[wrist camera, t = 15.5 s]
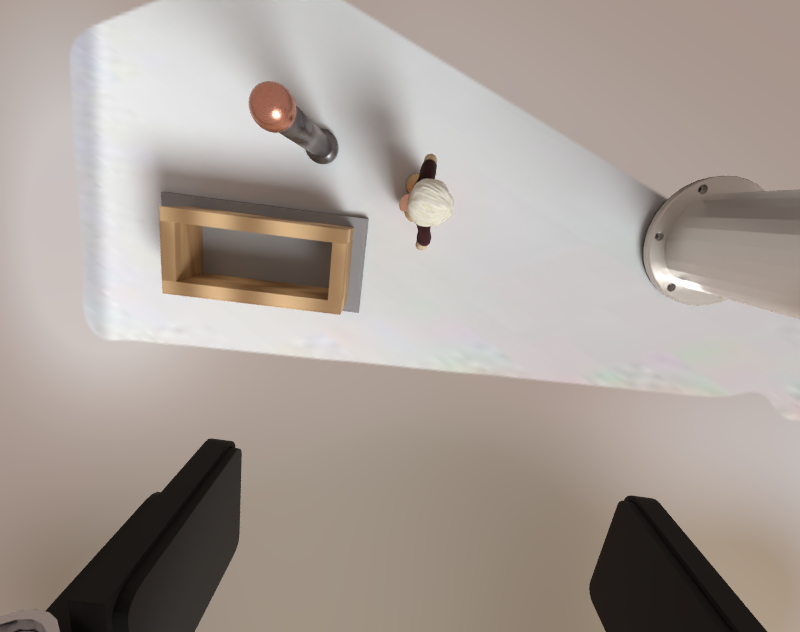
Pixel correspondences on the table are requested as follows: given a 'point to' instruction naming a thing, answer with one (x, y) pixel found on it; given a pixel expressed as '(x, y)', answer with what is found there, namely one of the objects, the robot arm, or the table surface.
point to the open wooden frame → (188, 279)
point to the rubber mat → (276, 247)
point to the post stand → (290, 121)
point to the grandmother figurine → (426, 201)
